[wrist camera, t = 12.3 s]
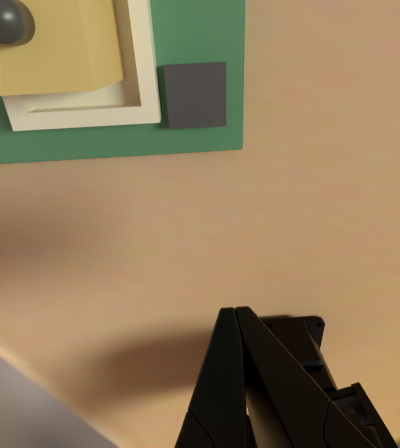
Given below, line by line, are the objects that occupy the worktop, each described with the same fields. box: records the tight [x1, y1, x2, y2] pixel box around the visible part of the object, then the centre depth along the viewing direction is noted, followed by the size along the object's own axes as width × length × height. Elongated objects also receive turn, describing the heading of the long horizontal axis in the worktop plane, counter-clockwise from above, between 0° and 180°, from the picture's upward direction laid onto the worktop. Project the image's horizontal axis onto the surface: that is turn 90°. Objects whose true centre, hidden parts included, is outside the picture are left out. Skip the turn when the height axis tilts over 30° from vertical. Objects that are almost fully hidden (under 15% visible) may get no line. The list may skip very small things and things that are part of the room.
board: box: [0, 0, 245, 164], centre depth 14 cm, size 12×16×3 cm
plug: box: [0, 0, 125, 96], centre depth 11 cm, size 5×4×7 cm
